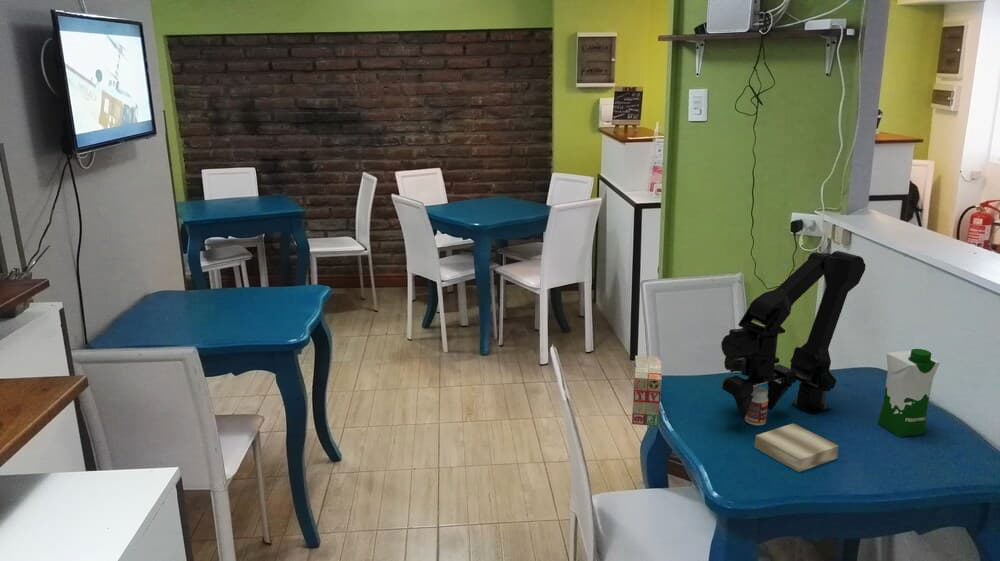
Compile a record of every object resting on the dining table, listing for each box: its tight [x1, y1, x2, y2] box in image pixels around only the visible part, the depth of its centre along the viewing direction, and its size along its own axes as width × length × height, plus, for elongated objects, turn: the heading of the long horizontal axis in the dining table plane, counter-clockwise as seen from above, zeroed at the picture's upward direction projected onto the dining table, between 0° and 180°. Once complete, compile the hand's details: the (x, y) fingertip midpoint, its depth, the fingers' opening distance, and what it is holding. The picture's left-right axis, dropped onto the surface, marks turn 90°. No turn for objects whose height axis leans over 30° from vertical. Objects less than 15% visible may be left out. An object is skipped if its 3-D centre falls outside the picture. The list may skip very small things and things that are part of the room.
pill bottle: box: [744, 385, 768, 427], centre depth 177 cm, size 5×5×8 cm
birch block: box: [754, 423, 840, 473], centre depth 164 cm, size 12×12×3 cm
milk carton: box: [877, 348, 940, 438], centre depth 172 cm, size 9×9×20 cm
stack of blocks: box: [631, 355, 663, 427], centre depth 185 cm, size 21×6×12 cm, turn 169°
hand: (756, 413), depth 178 cm, fingers open, 9 cm apart
